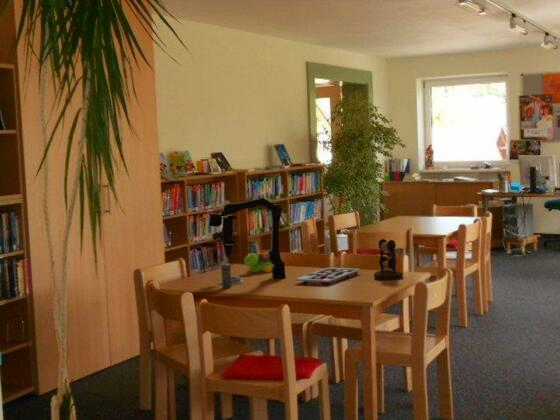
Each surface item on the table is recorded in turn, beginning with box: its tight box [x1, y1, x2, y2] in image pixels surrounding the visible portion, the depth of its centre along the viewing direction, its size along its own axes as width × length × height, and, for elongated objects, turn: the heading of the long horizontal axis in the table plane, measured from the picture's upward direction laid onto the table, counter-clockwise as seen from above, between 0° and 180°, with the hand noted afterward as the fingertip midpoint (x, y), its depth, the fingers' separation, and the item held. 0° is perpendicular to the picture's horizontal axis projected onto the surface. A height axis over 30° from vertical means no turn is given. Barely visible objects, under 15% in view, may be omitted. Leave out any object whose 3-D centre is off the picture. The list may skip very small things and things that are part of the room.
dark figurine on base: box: [373, 238, 404, 281], centre depth 404 cm, size 15×15×20 cm
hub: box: [218, 276, 244, 285], centre depth 420 cm, size 13×13×2 cm
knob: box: [220, 263, 233, 289], centre depth 405 cm, size 5×5×12 cm
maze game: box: [294, 267, 361, 286], centre depth 412 cm, size 35×20×3 cm, turn 147°
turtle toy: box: [244, 249, 274, 274], centre depth 451 cm, size 17×23×12 cm
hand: (226, 256), depth 421 cm, fingers open, 9 cm apart
